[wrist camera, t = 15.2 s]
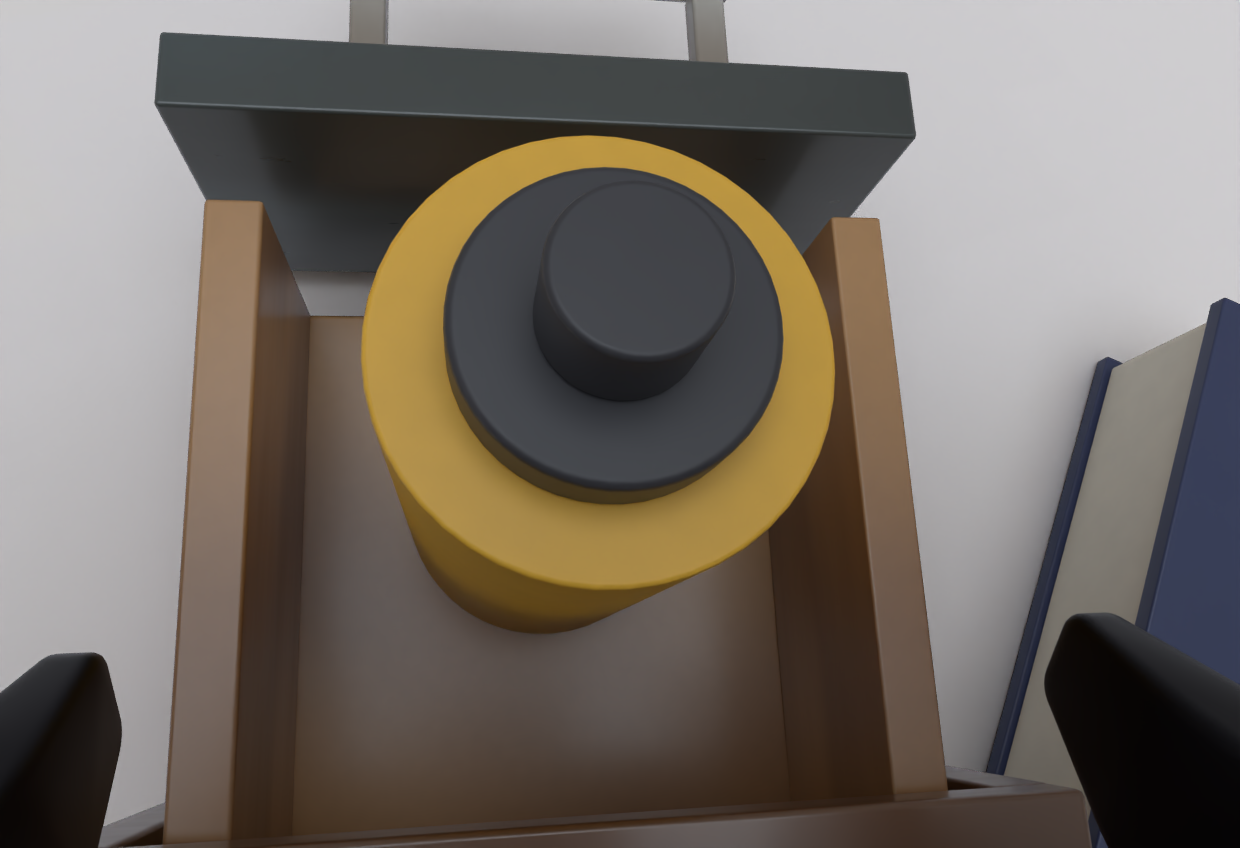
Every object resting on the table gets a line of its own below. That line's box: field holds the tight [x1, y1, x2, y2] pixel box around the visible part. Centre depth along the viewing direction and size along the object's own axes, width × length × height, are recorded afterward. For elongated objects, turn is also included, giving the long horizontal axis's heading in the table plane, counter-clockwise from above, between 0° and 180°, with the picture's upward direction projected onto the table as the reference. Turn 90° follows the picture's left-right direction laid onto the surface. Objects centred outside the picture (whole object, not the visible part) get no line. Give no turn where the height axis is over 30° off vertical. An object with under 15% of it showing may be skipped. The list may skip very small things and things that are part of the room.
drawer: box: [155, 0, 948, 845], centre depth 16 cm, size 19×11×6 cm, turn 3°
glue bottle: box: [361, 135, 835, 634], centre depth 13 cm, size 5×5×10 cm
